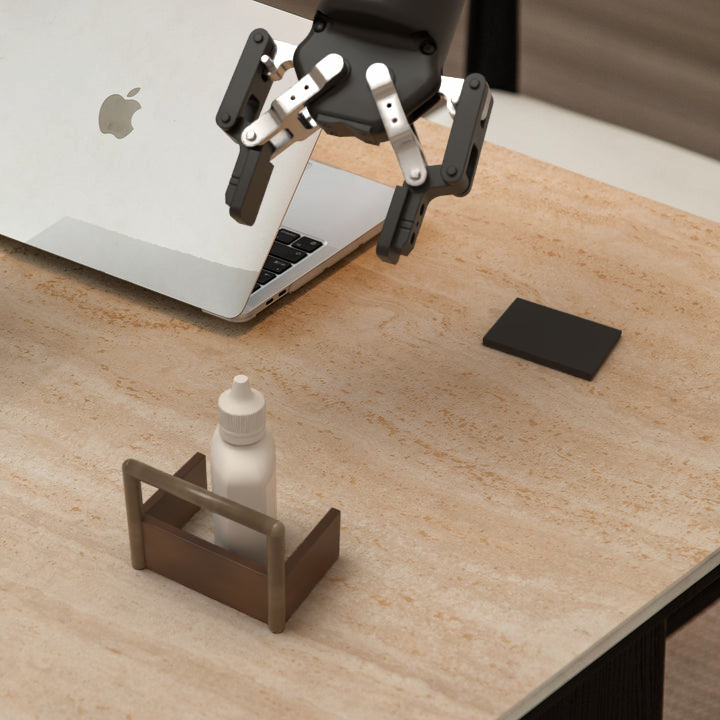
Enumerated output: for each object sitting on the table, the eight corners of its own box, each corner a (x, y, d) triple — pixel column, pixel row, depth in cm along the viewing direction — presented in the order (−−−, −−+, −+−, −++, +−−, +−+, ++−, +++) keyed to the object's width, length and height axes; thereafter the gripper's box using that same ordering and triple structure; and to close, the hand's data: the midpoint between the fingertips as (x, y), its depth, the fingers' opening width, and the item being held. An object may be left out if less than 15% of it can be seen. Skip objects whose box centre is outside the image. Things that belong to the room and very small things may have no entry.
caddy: (128, 565, 68) (117, 462, 63) (197, 495, 72) (192, 395, 68) (279, 635, 64) (278, 531, 60) (342, 557, 69) (345, 455, 64)
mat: (481, 344, 86) (482, 337, 85) (516, 303, 90) (517, 296, 90) (590, 381, 83) (592, 374, 82) (621, 337, 87) (622, 330, 87)
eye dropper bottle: (303, 530, 70) (304, 360, 63) (258, 597, 66) (254, 422, 59) (234, 507, 72) (228, 338, 65) (186, 572, 68) (174, 398, 60)
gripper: (265, -96, 66) (165, 187, 64) (521, -53, 62) (421, 253, 60) (308, -27, 73) (219, 230, 71) (540, 16, 69) (451, 291, 67)
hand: (311, 240), depth 66 cm, fingers open, 8 cm apart
